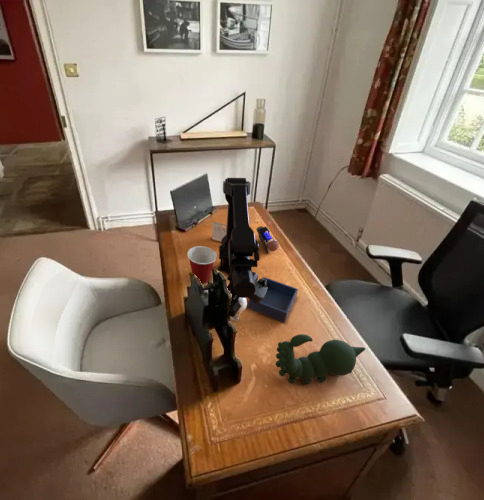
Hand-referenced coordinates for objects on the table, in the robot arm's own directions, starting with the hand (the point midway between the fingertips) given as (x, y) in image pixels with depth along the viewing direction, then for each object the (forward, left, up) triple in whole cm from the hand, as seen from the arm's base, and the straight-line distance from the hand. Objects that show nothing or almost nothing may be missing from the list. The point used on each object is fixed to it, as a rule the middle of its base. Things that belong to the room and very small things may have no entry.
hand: (235, 309), depth 101 cm
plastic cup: (-20, +13, -6) cm, 24 cm away
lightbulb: (0, 0, -5) cm, 5 cm away
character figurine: (-6, +46, -6) cm, 47 cm away
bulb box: (+8, +14, -5) cm, 17 cm away
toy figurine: (+28, -6, -6) cm, 29 cm away
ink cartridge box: (-24, +40, -6) cm, 47 cm away
